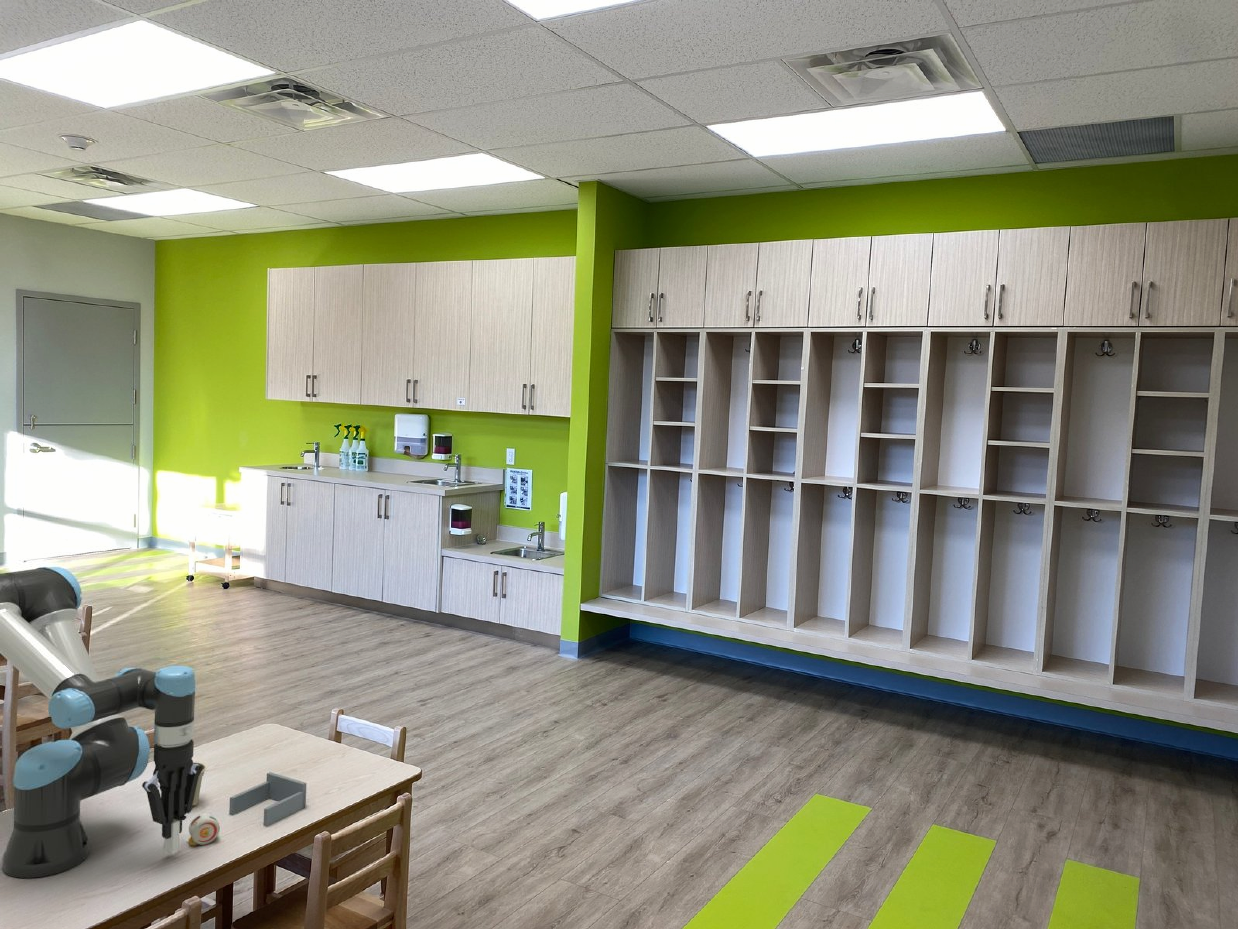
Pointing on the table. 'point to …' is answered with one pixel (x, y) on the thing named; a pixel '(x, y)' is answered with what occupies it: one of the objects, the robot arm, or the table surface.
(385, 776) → the table surface
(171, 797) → the robot arm
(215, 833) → the roller toy
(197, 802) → the flower pot
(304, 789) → the bin
